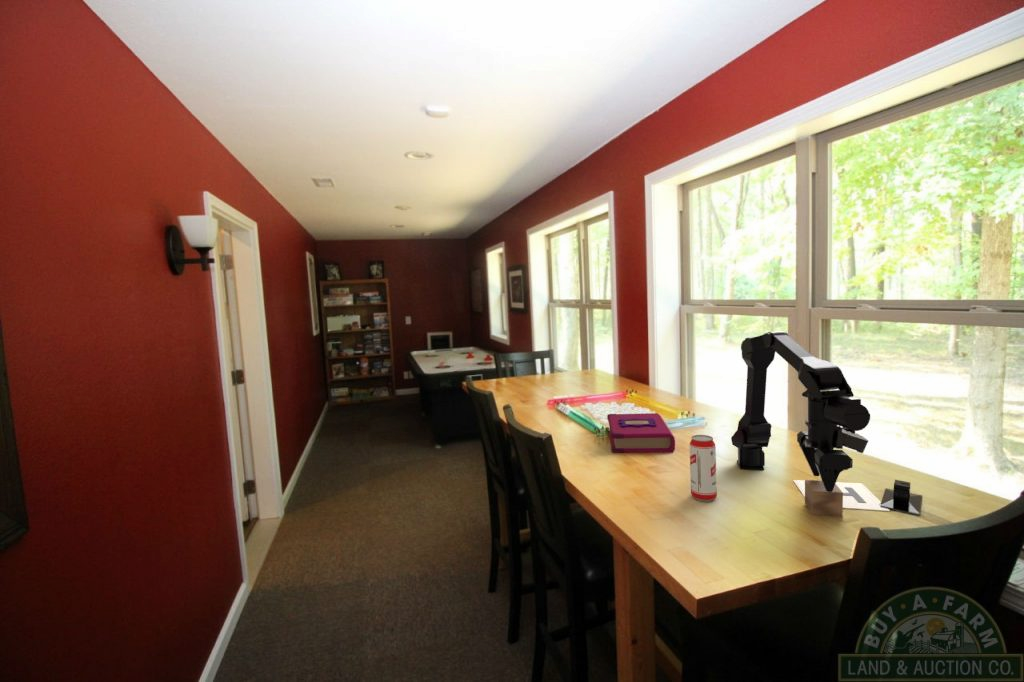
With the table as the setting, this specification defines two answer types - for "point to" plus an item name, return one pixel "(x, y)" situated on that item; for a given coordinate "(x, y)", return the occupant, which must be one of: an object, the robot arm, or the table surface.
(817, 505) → the cube
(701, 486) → the beer can
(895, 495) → the black stand
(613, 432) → the book
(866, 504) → the letter tile
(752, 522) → the table surface
